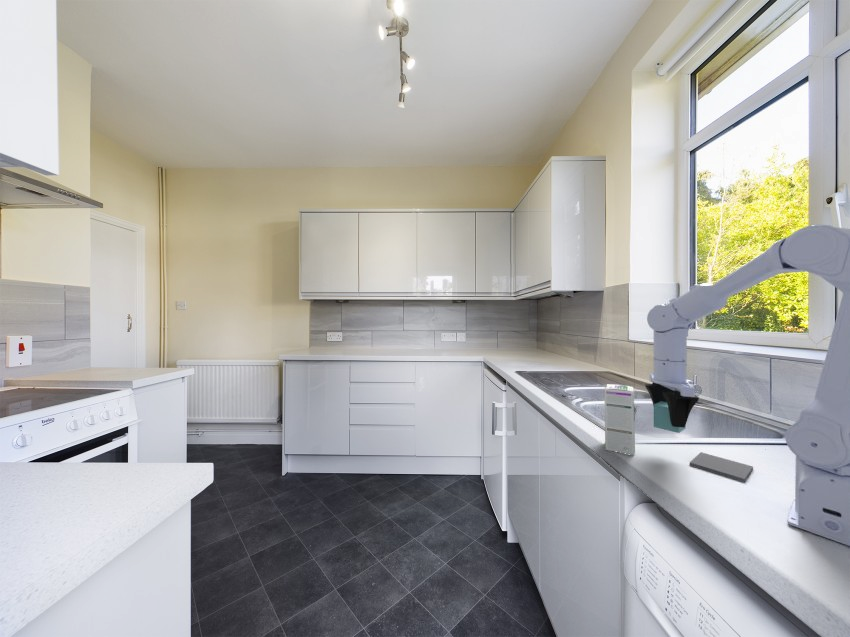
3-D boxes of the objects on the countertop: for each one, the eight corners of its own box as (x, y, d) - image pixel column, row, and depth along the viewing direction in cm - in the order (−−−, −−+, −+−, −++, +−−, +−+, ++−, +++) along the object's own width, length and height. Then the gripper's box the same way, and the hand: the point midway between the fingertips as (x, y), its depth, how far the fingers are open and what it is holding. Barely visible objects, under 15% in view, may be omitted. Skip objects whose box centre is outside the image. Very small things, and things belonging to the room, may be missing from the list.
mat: (744, 482, 57) (744, 479, 57) (689, 465, 64) (689, 462, 64) (752, 469, 62) (753, 466, 62) (700, 454, 68) (700, 452, 68)
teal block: (679, 433, 65) (679, 409, 65) (653, 426, 68) (653, 404, 68) (685, 428, 67) (685, 405, 67) (660, 422, 71) (660, 401, 71)
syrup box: (635, 456, 68) (635, 391, 67) (604, 450, 71) (604, 387, 71) (634, 447, 72) (635, 385, 72) (605, 441, 76) (605, 382, 75)
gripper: (713, 365, 60) (713, 435, 60) (673, 356, 74) (673, 412, 74) (670, 364, 61) (670, 431, 62) (639, 355, 75) (639, 410, 76)
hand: (669, 421), depth 68 cm, fingers closed on teal block, 6 cm apart
